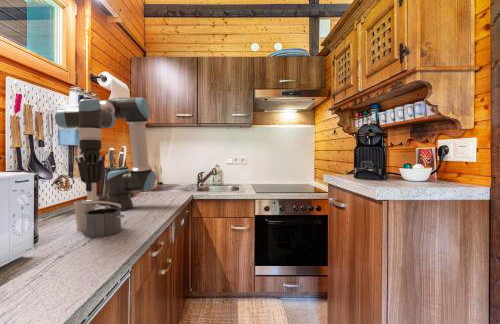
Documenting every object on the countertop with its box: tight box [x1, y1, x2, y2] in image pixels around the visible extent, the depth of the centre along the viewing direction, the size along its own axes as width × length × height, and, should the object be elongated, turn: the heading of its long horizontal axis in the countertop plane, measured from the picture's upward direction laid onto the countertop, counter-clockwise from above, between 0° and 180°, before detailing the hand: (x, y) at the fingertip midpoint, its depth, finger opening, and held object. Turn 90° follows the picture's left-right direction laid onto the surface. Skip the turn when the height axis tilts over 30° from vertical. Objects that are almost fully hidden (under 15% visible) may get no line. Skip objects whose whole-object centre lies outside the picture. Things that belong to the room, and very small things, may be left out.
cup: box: [73, 199, 96, 232], centre depth 122 cm, size 8×8×12 cm
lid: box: [81, 197, 121, 208], centre depth 116 cm, size 16×15×3 cm
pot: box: [81, 207, 125, 239], centre depth 116 cm, size 15×19×10 cm
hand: (91, 199), depth 110 cm, fingers closed
